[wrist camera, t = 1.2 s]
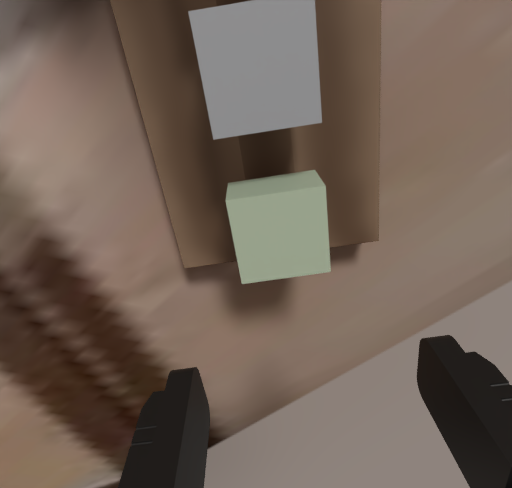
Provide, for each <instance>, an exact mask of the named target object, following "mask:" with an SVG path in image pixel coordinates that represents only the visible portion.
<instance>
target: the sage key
mask: <svg viewBox="0 0 512 488" xmlns="http://www.w3.org/2000/svg"><path fill="white" fill-rule="evenodd" d="M226 206H227V211H228V216H229V221H230V226H231V231H232V236H233V241H234V247H235V252H236V257H237V262H238V267H239V272H240V277H241V282H242V284H247V283H254V282H261V281H268V280H275V279H283V278H290V277H297V276H304V275H311V274H318V273H325V272H331V267H330V250H329V233H328V217H327V200H326V185H325V184H324V183H323V181H322V180H321V178H320V177H319V175H318V174H317V172H316V171H315V170H310V171H303V172H297V173H290V174H283V175H277V176H270V177H264V178H257V179H250V180H244V181H237V182H231V183H228V187H227V194H226Z"/></svg>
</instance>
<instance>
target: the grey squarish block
mask: <svg viewBox="0 0 512 488" xmlns="http://www.w3.org/2000/svg"><path fill="white" fill-rule="evenodd" d="M188 13H189V18H190V23H191V28H192V33H193V38H194V43H195V48H196V54H197V59H198V64H199V69H200V74H201V79H202V84H203V89H204V94H205V99H206V104H207V110H208V115H209V120H210V125H211V130H212V135H213V140H215V139H221V138H228V137H234V136H240V135H247V134H253V133H259V132H266V131H272V130H279V129H285V128H291V127H298V126H304V125H310V124H317V123H322V113H321V96H320V79H319V62H318V45H317V28H316V11H315V0H251V1H245V2H240V3H234V4H228V5H222V6H216V7H210V8H205V9H199V10H193V11H188Z"/></svg>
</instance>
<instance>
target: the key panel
mask: <svg viewBox="0 0 512 488" xmlns="http://www.w3.org/2000/svg"><path fill="white" fill-rule="evenodd" d="M245 1H251V0H110V2H111V6H112V9H113V13H114V17H115V20H116V24H117V27H118V31H119V35H120V38H121V42H122V45H123V49H124V53H125V56H126V60H127V64H128V67H129V71H130V74H131V78H132V82H133V85H134V89H135V92H136V96H137V100H138V103H139V107H140V110H141V114H142V118H143V121H144V125H145V128H146V132H147V136H148V139H149V143H150V146H151V150H152V154H153V157H154V161H155V164H156V168H157V172H158V175H159V179H160V182H161V186H162V190H163V193H164V197H165V200H166V204H167V208H168V211H169V215H170V218H171V222H172V226H173V229H174V233H175V236H176V240H177V244H178V247H179V251H180V254H181V258H182V262H183V265H184V268H191V267H198V266H205V265H212V264H219V263H226V262H233V261H237V257H236V252H235V247H234V241H233V236H232V231H231V226H230V221H229V216H228V211H227V206H226V194H227V187H228V183H231V182H237V181H244V180H250V179H257V178H264V177H270V176H277V175H283V174H290V173H297V172H303V171H310V170H315V171H316V172H317V174H318V175H319V177H320V178H321V180H322V181H323V183H324V184H325V185H326V200H327V217H328V233H329V248H331V247H338V246H345V245H352V244H359V243H366V242H373V241H379V158H380V73H381V0H315V11H316V28H317V45H318V62H319V79H320V96H321V113H322V123H317V124H310V125H304V126H298V127H291V128H285V129H279V130H272V131H266V132H259V133H253V134H247V135H240V136H234V137H228V138H221V139H215V140H213V135H212V130H211V125H210V120H209V115H208V110H207V104H206V99H205V94H204V89H203V84H202V79H201V74H200V69H199V64H198V59H197V54H196V48H195V43H194V38H193V33H192V28H191V23H190V18H189V13H188V11H193V10H199V9H205V8H210V7H216V6H222V5H228V4H234V3H240V2H245Z"/></svg>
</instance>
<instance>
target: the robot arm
mask: <svg viewBox="0 0 512 488" xmlns="http://www.w3.org/2000/svg"><path fill="white" fill-rule="evenodd" d="M417 382H418V387H419V391H420V394H421V396H422V399H423V400H424V403H425V404H426V406H427V408H428V410H429V412H430V414H431V416H432V417H433V419H434V421H435V423H436V425H437V427H438V429H439V431H440V432H441V434H442V436H443V438H444V440H445V442H446V444H447V445H448V447H449V449H450V451H451V453H452V455H453V457H454V458H455V460H456V462H457V464H458V466H459V468H460V470H461V471H462V473H463V475H464V477H465V479H466V481H467V483H468V484H469V486H470V488H512V385H509V382H508V380H507V379H506V378H505V377H504V376H503V374H502V373H501V372H500V371H499V370H498V368H497V367H496V366H495V365H494V364H492V363H491V362H489V361H488V360H487V359H485V358H484V357H482V356H481V355H479V354H477V353H476V352H469V353H465V352H464V350H463V349H462V348H461V347H460V345H459V344H458V343H457V341H456V340H455V339H454V338H453V337H452V336H450V335H445V336H438V337H430V338H423V339H421V340H420V345H419V357H418V369H417ZM209 426H210V412H209V404H208V400H207V397H206V394H205V390H204V387H203V384H202V380H201V377H200V374H199V370H198V369H197V367H194V368H187V369H179V370H172V371H170V373H169V376H168V380H167V384H166V388H165V391H158V392H153V393H152V395H151V396H150V398H149V399H148V401H147V402H146V403H145V405H144V406H143V408H142V409H141V413H140V416H139V419H138V423H137V426H136V431H135V433H134V436H133V439H132V446H131V447H130V449H129V453H128V456H127V459H126V463H125V466H124V469H123V473H122V476H121V479H120V483H119V486H118V488H204V478H205V468H206V457H207V447H208V437H209Z"/></svg>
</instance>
